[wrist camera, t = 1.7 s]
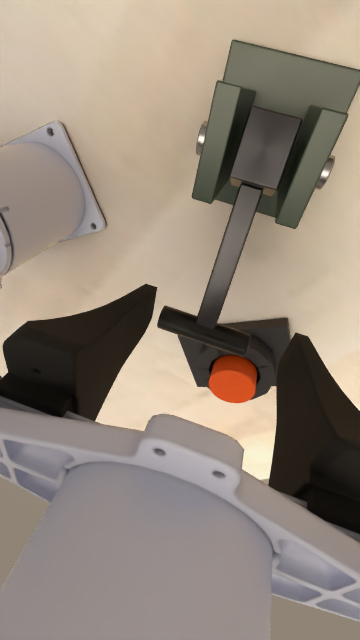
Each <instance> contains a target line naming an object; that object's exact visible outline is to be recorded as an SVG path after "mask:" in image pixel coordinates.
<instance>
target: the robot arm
mask: <svg viewBox="0 0 360 640" xmlns="http://www.w3.org/2000/svg"><path fill="white" fill-rule="evenodd" d="M51 129H52V130H53V132H54V135H52V134H51V131H50V130H51ZM93 223H94V224H95V225H96V228H95V227H94V226H93ZM105 227H106V223H105V220H104V218H103V216H102V214H101V211H100V209H99V207H98V204H97V202H96V200H95V197H94V195H93V193H92V191H91V188H90V186H89V184H88V181H87V179H86V177H85V175H84V172H83V170H82V168H81V165H80V163H79V161H78V158H77V156H76V154H75V152H74V149H73V147H72V145H71V142H70V140H69V138H68V136H67V133H66V131H65V129H64V127H63V125H62V124H61V123H60V122H58V121H53V122H51V123H49V124H47V125H44V126H42V127H40V128H38V129H36V130H34V131H32V132H30V133H28V134H26V135H24V136H22V137H20V138H18V139H16V140H14V141H12V142H10V143H8V144H5V145H3V146H1V147H0V289H1V288H2V285H1V280H2V277H3V276H4V275H5V274H7V273H8V272H10V271H12V270H13V269H15V268H16V267H18V266H20V265H21V264H23V263H25V262H26V261H28V260H29V259H31V258H33V257H34V256H36V255H37V254H39V253H41V252H42V251H44V250H45V249H47V248H49V247H50V246H52V245H53V244H55V243H57V242H61V241H64V240H68V239H72V238H76V237H79V236H83V235H87V234H90V233H94V232H98V231H101V230H103V229H105ZM156 291H157V287H154V286H151V285H148V284H145V285H143V286H141V287H139V288H137V289H136V290H134V291H132V292H130V293H129V294H127V295H125V296H123V297H121V298H119V299H117V300H115V301H113V302H111V303H109V304H107V305H104V306H102V307H99V308H96V309H93V310H90V311H87V312H83V313H79V314H76V315H72V316H67V317H61V318H55V319H47V320H36V321H27V322H26V323H25V324H23V325H22V326H21V327H20V328H19V329H17V330H16V331H15V332H14V333H13V334H12V335H11V336H10V337H8V338H7V339H6V340H5V341H4V344H3V353H4V357H5V361H6V365H7V369H8V373H7V374H6V375H5V376H4V377H3V378H2V377H1V376H0V476H1V477H3V478H5V479H7V480H8V481H10V482H12V483H14V484H16V485H18V486H19V487H21V488H23V489H25V490H27V491H28V492H30V493H32V494H34V495H36V496H38V497H39V498H41V499H43V500H45V501H47V502H49V503H50V505H49V506H48V508H47V510H46V512H45V513H44V515H43V517H42V518H41V520H40V522H39V523H38V525H37V527H36V529H35V530H34V532H33V534H32V536H31V537H30V539H29V541H28V543H27V544H26V546H25V548H24V549H23V551H22V553H21V555H20V556H19V558H18V560H17V561H16V563H15V565H14V567H13V569H12V570H11V572H10V573H9V575H8V577H7V579H6V580H5V582H4V584H3V586H2V587H1V589H0V640H270V628H271V625H270V624H271V595H275V596H278V597H281V598H285V599H288V600H291V601H294V602H298V603H301V604H304V605H308V606H311V607H315V608H318V609H321V610H324V611H328V612H331V613H334V614H337V615H340V616H344V617H346V618H350V619H353V620H356V621H359V622H360V411H359V410H358V409H357V408H356V407H355V405H354V404H353V403H352V402H351V401H350V400H349V398H348V397H347V396H346V395H345V394H344V392H343V391H342V390H341V388H340V387H339V386H338V384H337V383H336V382H335V380H334V379H333V377H332V376H331V374H330V373H329V371H328V370H327V368H326V366H325V365H324V363H323V361H322V360H321V358H320V356H319V355H318V353H317V351H316V349H315V347H314V346H313V344H312V342H311V340H310V339H309V337H308V336H305V335H302V334H299V333H295V335H294V336H293V338H292V340H291V341H290V343H289V345H288V347H287V348H286V350H285V352H284V353H283V355H282V357H281V358H280V360H279V364H278V371H277V425H276V435H275V444H274V451H273V459H272V466H271V472H270V478H269V484H268V485H266V484H265V483H263V482H262V481H260V480H258V479H257V478H255V477H254V476H252V475H250V474H249V473H247V472H246V471H244V470H242V462H243V453H244V449H243V448H242V446H241V445H240V444H239V442H238V441H237V440H235V439H233V438H232V437H230V436H228V435H226V434H223V433H221V432H218V431H215V430H212V429H210V428H207V427H204V426H202V425H199V424H196V423H193V422H191V421H188V420H185V419H183V418H180V417H177V416H174V415H169V414H159V415H154V416H152V418H151V419H150V420H149V421H148V424H147V426H146V428H145V431H140V430H134V429H128V428H122V427H116V426H110V425H104V424H100V423H98V422H95V420H96V418H97V415H98V413H99V411H100V409H101V407H102V405H103V403H104V401H105V399H106V397H107V395H108V393H109V391H110V389H111V387H112V385H113V383H114V381H115V379H116V377H117V375H118V373H119V371H120V370H121V368H122V366H123V365H124V363H125V361H126V360H127V358H128V357H129V356H130V354H131V353H132V351H133V350H134V348H135V347H136V345H137V344H138V342H139V341H140V339H141V338H142V336H143V335H144V333H145V331H146V329H147V327H148V325H149V323H150V321H151V319H152V315H153V309H154V303H155V297H156Z"/></svg>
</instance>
